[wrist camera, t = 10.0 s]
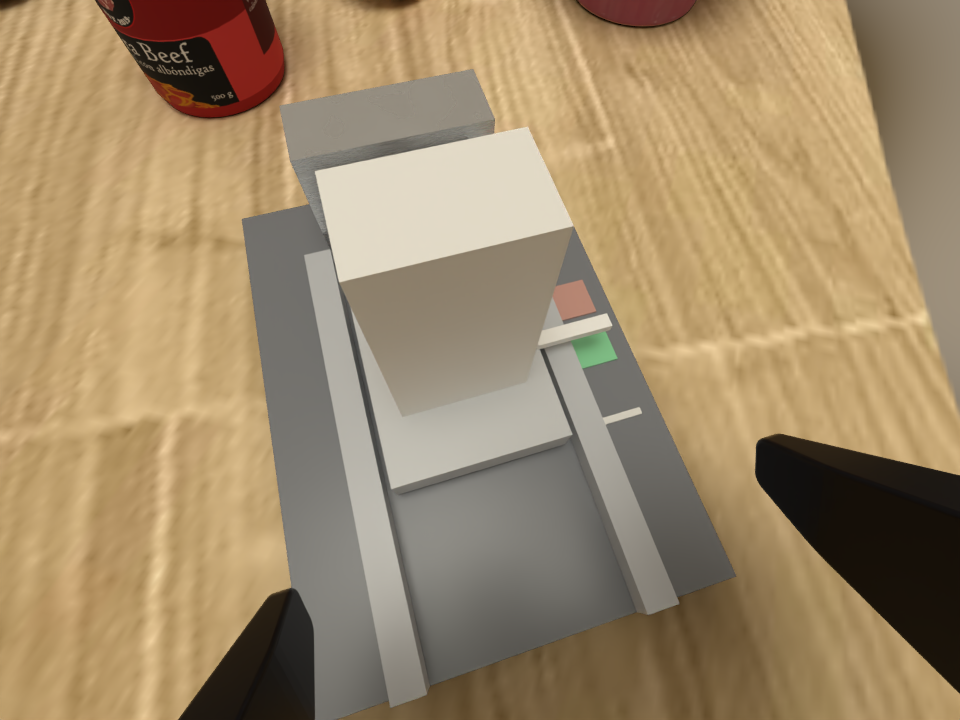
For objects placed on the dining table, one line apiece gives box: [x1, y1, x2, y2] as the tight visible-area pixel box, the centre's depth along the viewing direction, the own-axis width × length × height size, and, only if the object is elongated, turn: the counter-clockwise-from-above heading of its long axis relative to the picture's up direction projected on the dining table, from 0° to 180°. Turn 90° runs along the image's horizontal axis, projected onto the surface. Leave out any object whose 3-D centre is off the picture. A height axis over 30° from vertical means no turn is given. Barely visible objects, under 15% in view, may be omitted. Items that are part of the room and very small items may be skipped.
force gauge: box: [315, 127, 612, 495], centre depth 16 cm, size 8×10×11 cm
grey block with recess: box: [280, 69, 495, 254], centre depth 22 cm, size 3×8×6 cm, turn 107°
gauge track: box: [242, 204, 736, 720], centre depth 21 cm, size 22×16×2 cm
